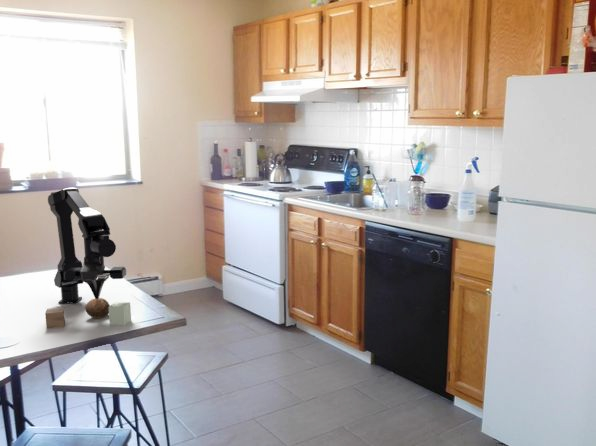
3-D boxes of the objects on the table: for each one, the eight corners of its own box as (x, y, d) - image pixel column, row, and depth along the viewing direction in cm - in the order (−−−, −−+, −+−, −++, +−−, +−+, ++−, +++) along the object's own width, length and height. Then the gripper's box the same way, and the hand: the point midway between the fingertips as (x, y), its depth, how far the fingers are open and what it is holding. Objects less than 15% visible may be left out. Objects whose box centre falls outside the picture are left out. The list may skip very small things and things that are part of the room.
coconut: (84, 303, 197) (90, 291, 194) (107, 309, 200) (113, 297, 197) (80, 321, 190) (86, 308, 187) (104, 327, 193) (110, 315, 190)
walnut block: (48, 323, 187) (46, 308, 186) (64, 322, 188) (63, 307, 187) (46, 328, 182) (45, 313, 181) (63, 327, 184) (62, 311, 183)
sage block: (116, 319, 190) (115, 302, 189) (131, 320, 189) (130, 302, 188) (109, 325, 185) (108, 306, 184) (124, 325, 184) (123, 307, 183)
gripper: (56, 258, 182) (59, 306, 184) (116, 257, 183) (119, 305, 185) (68, 250, 193) (71, 296, 195) (125, 249, 193) (128, 295, 196)
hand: (97, 298), depth 193 cm, fingers closed
